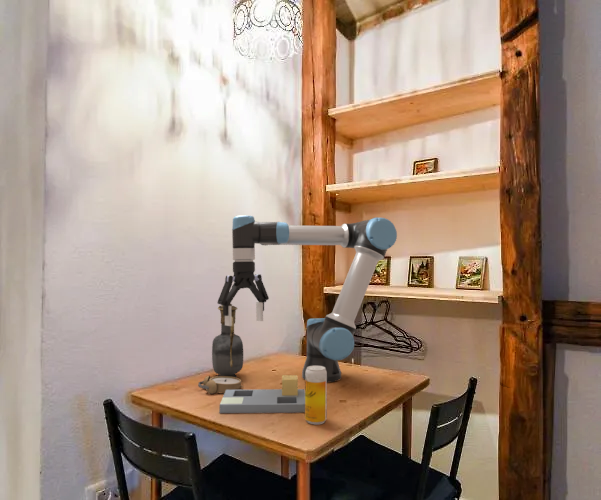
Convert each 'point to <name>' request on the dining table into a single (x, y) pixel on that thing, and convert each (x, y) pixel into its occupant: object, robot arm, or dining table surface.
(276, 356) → the dining table surface
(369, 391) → the dining table surface
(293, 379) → the block
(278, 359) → the dining table surface
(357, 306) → the robot arm
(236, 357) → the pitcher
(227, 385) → the alarm clock
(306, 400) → the beer can
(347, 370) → the dining table surface
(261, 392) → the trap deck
